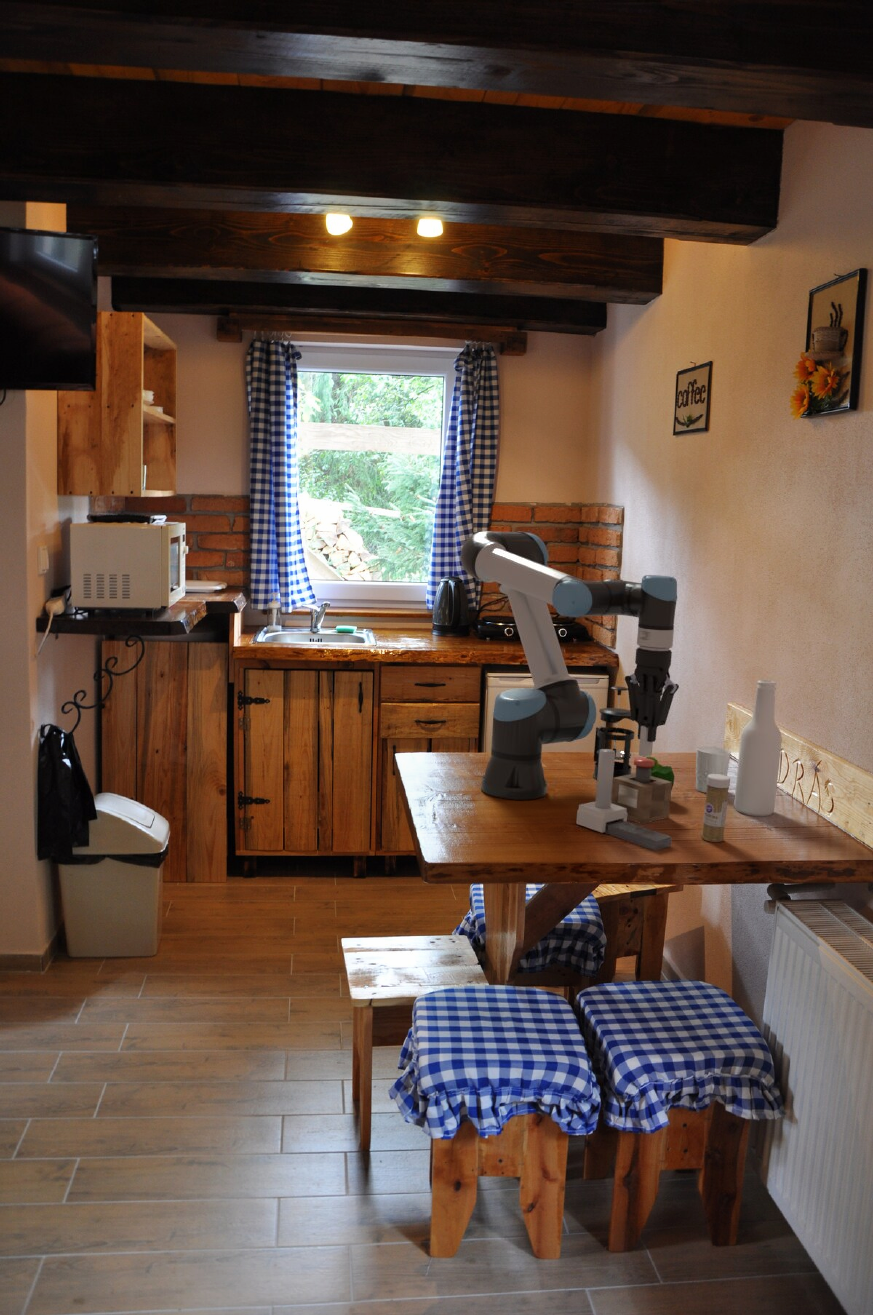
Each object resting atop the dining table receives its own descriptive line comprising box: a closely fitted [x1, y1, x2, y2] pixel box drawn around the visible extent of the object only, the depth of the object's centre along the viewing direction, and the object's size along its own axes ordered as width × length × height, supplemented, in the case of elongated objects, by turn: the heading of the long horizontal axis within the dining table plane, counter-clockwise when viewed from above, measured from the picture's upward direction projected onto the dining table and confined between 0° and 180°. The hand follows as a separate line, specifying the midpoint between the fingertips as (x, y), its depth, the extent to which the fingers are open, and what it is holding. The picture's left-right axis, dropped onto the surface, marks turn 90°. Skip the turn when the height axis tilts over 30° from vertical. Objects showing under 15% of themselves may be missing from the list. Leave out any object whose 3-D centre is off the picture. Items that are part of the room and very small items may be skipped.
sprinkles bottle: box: [701, 774, 731, 843], centre depth 220 cm, size 5×5×14 cm
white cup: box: [695, 745, 732, 794], centre depth 259 cm, size 8×8×10 cm
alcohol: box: [733, 679, 783, 817], centre depth 241 cm, size 9×9×30 cm
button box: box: [611, 772, 673, 825], centre depth 235 cm, size 9×9×8 cm
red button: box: [633, 757, 655, 784], centre depth 234 cm, size 4×4×8 cm
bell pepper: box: [645, 756, 675, 792], centre depth 248 cm, size 8×8×10 cm
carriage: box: [576, 748, 628, 834], centre depth 224 cm, size 7×8×16 cm
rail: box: [603, 819, 673, 852], centre depth 221 cm, size 20×5×2 cm, turn 41°
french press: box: [592, 686, 635, 781], centre depth 264 cm, size 12×9×23 cm
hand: (645, 755), depth 233 cm, fingers closed
